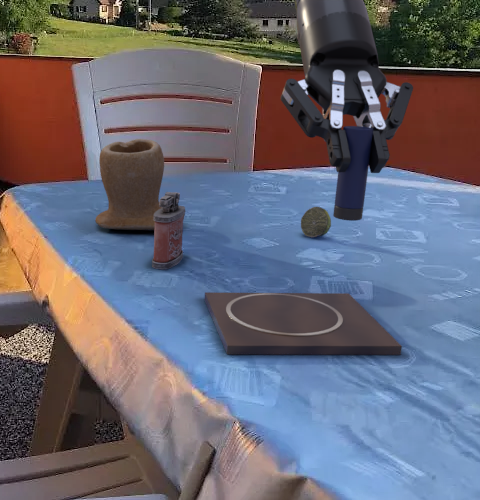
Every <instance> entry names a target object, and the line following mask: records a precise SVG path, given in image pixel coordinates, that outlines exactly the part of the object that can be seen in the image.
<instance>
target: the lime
mask: <svg viewBox="0 0 480 500" xmlns="http://www.w3.org/2000/svg"><path fill="white" fill-rule="evenodd" d="M331 227H332V220H331V216H330V214H329V212H328V211H327V210H326V209H325V208H323V207H320V206H313V207H311V208H309V209H307V210H306V211H305V212H304V214H303V215H302V216H301V219H300V229H301V231H302V233H303V234H304V236H306V237H308V238H320V237H323V236H325V235H326V234H328V232H329V231H330V229H331Z"/></svg>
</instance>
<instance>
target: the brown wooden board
mask: <svg viewBox="0 0 480 500" xmlns="http://www.w3.org/2000/svg"><path fill="white" fill-rule="evenodd" d="M203 300H204V302H205V305H206V307H207V309H208V312H209V314H210V317H211V319H212V322H213V324H214V326H215V329H216V331H217V333H218V337H219V339H220V341H221V343H222V345H223V348H224V350H225V353H226V355H263V356H265V355H267V356H268V355H269V356H270V355H272V356H273V355H277V356H278V355H283V356H284V355H285V356H286V355H288V356H289V355H290V356H291V355H294V356H295V355H296V356H297V355H300V356H301V355H303V356H304V355H305V356H306V355H307V356H308V355H310V356H312V355H317V356H318V355H320V356H322V355H323V356H324V355H325V356H333V355H335V356H336V355H337V356H340V355H341V356H343V355H344V356H349V355H350V356H352V355H353V356H371V355H372V356H381V355H382V356H400V355H402V348H403V346H402V345H401V343H399V342H398V340H396V339H395V338H394V336H392V335H391V333H389V332H388V330H386V329H385V328H384V327H383V325H382V324H380V322H378V321H377V320H376V319H375V317H373V316H372V314H370V313H369V312H368V311H367V310H366V309H365V308H364V307H363V306H362V305H361V303H359V302H358V301H357V300H356V299H355V298H354V296H352V295H351V294H350V293H348V292H346V293H342V292H337V293H335V292H331V293H329V292H326V293H325V292H215V291H214V292H213V291H212V292H211V291H210V292H209V291H207V292H206V291H205V292H204V299H203Z"/></svg>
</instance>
